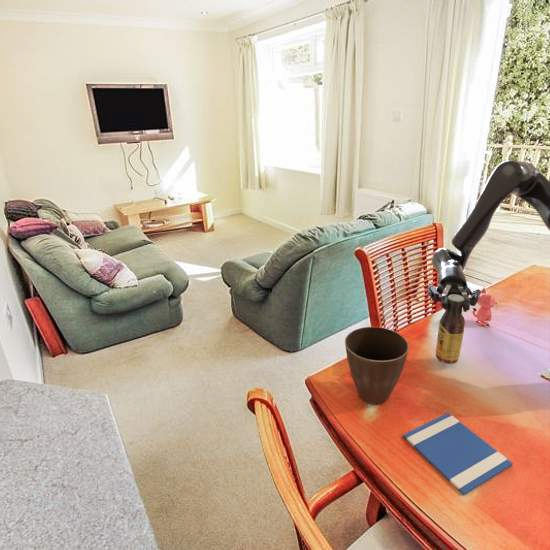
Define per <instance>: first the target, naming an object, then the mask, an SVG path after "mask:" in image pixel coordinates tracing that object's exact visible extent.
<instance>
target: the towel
mask: <svg viewBox="0 0 550 550" xmlns="http://www.w3.org/2000/svg"><path fill="white" fill-rule="evenodd" d="M402 437H403V438H404V439H405V441H407V442H408V444H410V445H411V446H412V447H413V448H414V450H416V451H417V452H418V453H419V454H420V455H421V456H422V457H423V458H424V459H425V460H426V461H427V462H429V463H430V464H431V466H433V467H434V468H435V469H436V470H437V471H438V472H439V473H440V474H441V475H442V476H443V477H444V478H445V479H446V480H447V481H448V482H449V483H450V484H451V485H452V486H453V487H454V488H455V489H456V490H457V491H458V492H460V494H462V495H463V496H465V495H467V494H469V493H470V492H472V491H473V490H475V489H477V488H478V487H479V486H481V485H483V484H485V483H486V482H488V481H490V480H491V479H493V478H494V477H496V476H498V475H499V474H501V473H502V472H504V471H505V470H508V468H511V467H512V466H513V462H512V461H511V460H510V459H508V458H507V457H506V456H505V455H503V454H502V453H501V452H500V451H498V450H497V449H495V448H494V447H493V446H491V445H490V444H489V443H488V442H487V441H485V440H484V439H482V438H481V437H480V436H479V435H477V434H476V433H475V432H473V431H472V430H471V429H469V427H467V426H466V425H464V424H463V423H462V422H460V420H458V419H457V418H456V417H455V416H453V415H452V414H451V413H449V412H447V413H445V414H443V415H441V416H438V417H437V418H434V419H433V420H431V421H428V422H427V423H424V424H422V425H420V426H419V427H416V428H414V429H411V430H410V431H408V432H406V433H404V434H403V435H402Z"/></svg>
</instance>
